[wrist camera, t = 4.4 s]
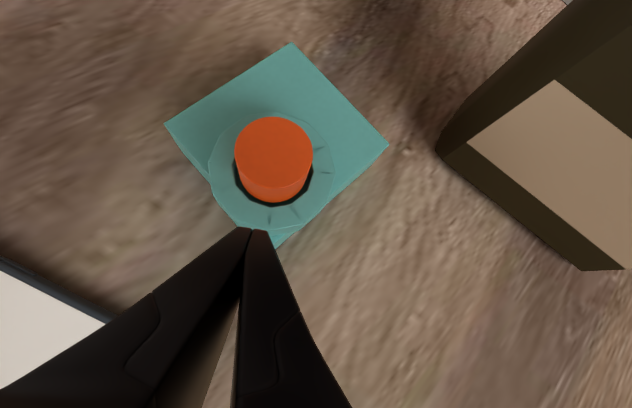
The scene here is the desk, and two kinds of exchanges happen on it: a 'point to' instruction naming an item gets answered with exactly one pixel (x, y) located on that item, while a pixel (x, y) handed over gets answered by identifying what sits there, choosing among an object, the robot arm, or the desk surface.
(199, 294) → the robot arm
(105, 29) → the desk surface
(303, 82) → the cap block
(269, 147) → the orange short cylinder
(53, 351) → the phone case
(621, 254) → the bottle
